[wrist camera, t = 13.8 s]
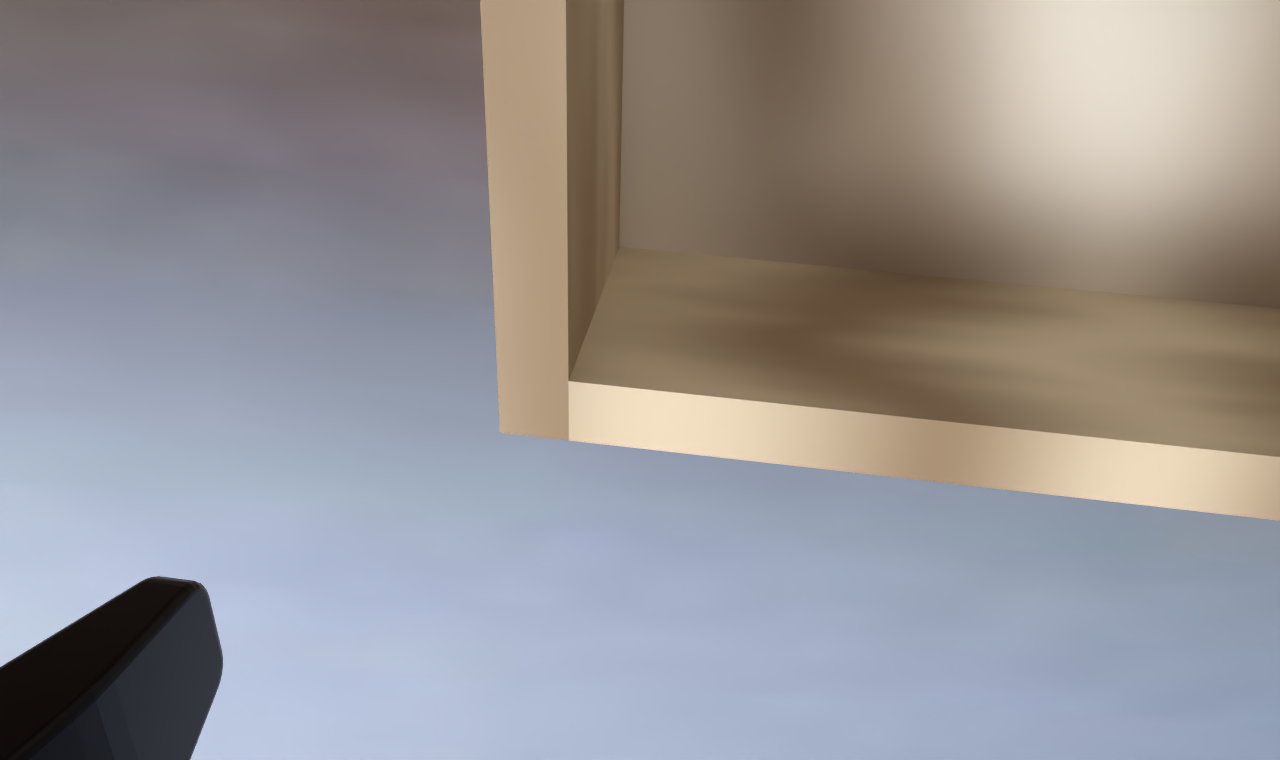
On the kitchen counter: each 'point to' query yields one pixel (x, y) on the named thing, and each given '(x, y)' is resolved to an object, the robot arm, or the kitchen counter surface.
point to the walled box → (897, 237)
